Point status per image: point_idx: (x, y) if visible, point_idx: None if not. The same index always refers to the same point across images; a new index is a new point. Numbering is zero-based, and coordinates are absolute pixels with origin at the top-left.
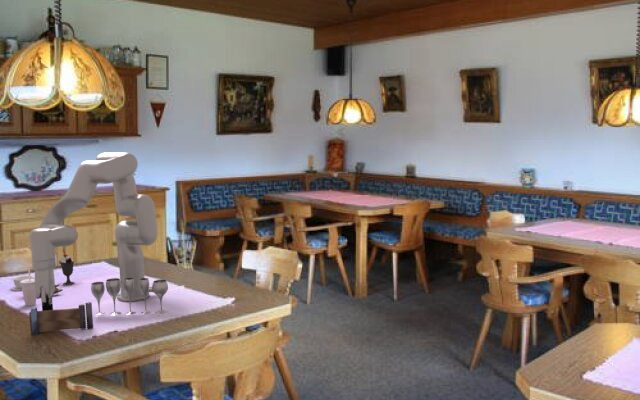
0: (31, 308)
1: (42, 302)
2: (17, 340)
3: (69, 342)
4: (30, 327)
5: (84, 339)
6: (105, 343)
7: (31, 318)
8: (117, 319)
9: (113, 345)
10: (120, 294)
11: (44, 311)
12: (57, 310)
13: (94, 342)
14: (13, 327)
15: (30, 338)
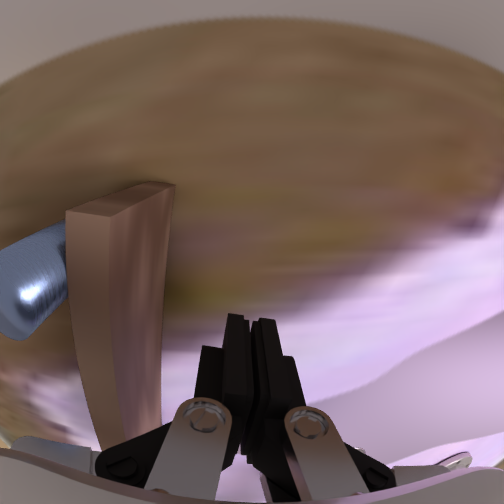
0: (3, 271)
1: (22, 442)
2: (59, 115)
3: (5, 355)
4: (136, 186)
5: (33, 400)
6: (12, 424)
7: (51, 225)
8: (238, 493)
9: (5, 429)
10: (463, 461)
11: (81, 374)
12: (101, 447)
13: (14, 410)
14: (368, 67)
15: (64, 188)
